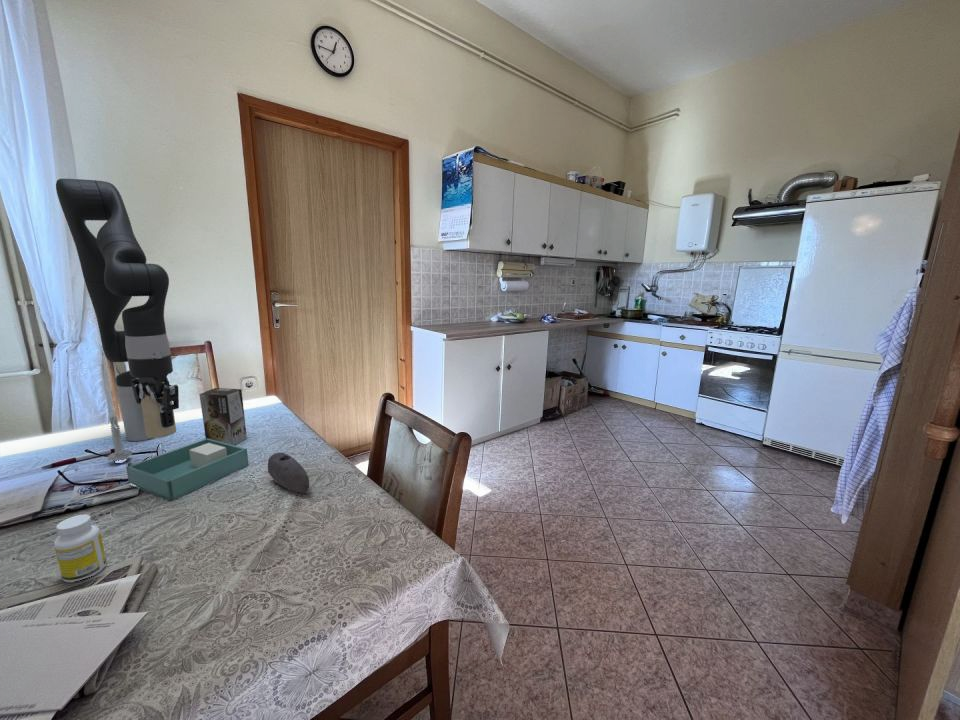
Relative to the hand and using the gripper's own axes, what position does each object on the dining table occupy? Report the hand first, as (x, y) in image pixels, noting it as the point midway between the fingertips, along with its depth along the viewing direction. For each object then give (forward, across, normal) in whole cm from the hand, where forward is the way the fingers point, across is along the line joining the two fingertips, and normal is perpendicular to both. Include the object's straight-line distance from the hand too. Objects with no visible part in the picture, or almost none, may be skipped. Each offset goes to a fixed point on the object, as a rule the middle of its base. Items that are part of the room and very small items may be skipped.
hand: (160, 423), depth 91 cm
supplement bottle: (+15, +19, -23) cm, 34 cm away
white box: (+16, 0, +10) cm, 18 cm away
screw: (+16, -24, +1) cm, 29 cm away
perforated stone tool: (+16, +27, +12) cm, 34 cm away
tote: (+16, 0, +5) cm, 17 cm away
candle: (+3, 0, 0) cm, 3 cm away
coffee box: (+16, -12, +22) cm, 30 cm away
